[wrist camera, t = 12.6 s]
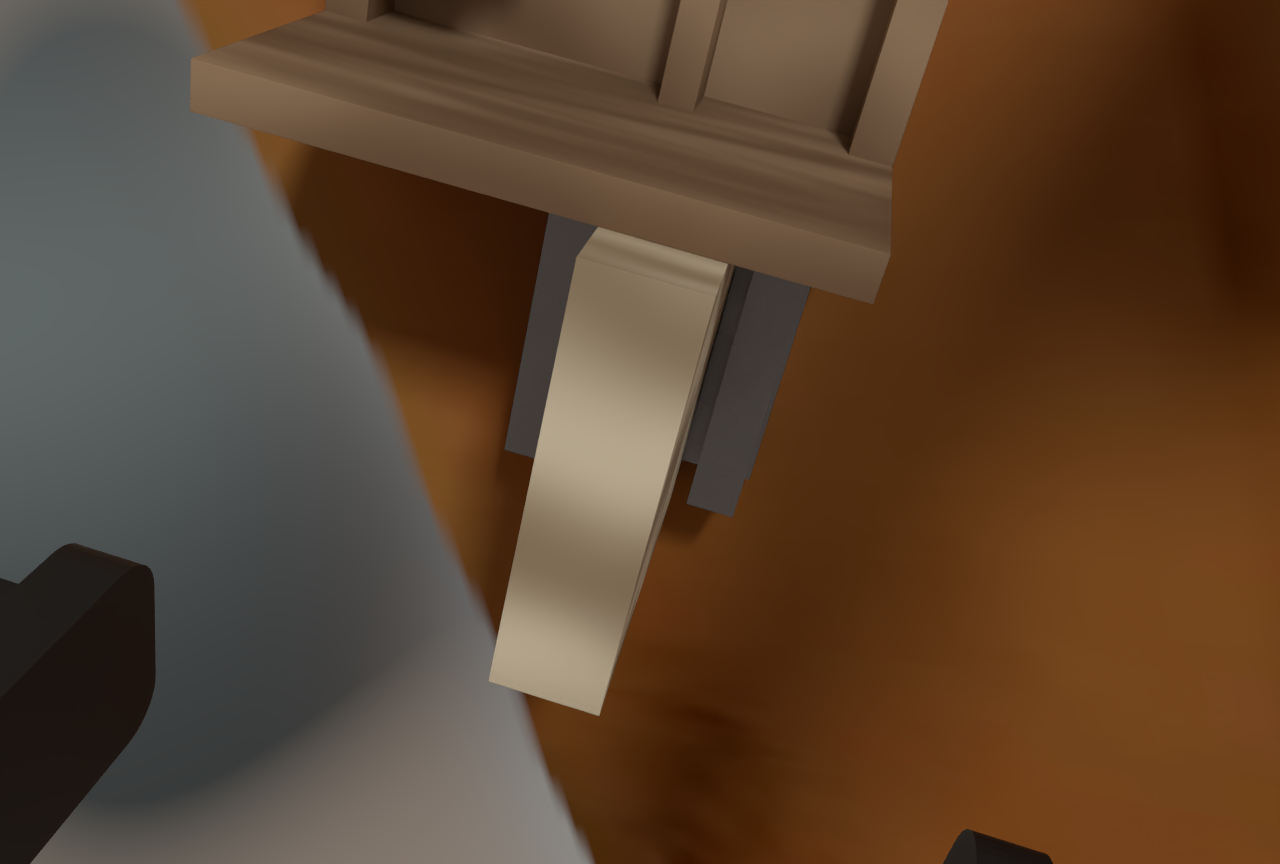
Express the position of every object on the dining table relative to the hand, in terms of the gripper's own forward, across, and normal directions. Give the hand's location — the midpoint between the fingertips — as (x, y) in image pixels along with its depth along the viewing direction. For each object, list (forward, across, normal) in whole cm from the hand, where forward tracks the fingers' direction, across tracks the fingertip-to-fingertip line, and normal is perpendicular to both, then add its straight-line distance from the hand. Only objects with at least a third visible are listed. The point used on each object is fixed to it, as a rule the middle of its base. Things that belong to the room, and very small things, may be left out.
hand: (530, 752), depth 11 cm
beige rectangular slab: (+25, +2, +8) cm, 26 cm away
